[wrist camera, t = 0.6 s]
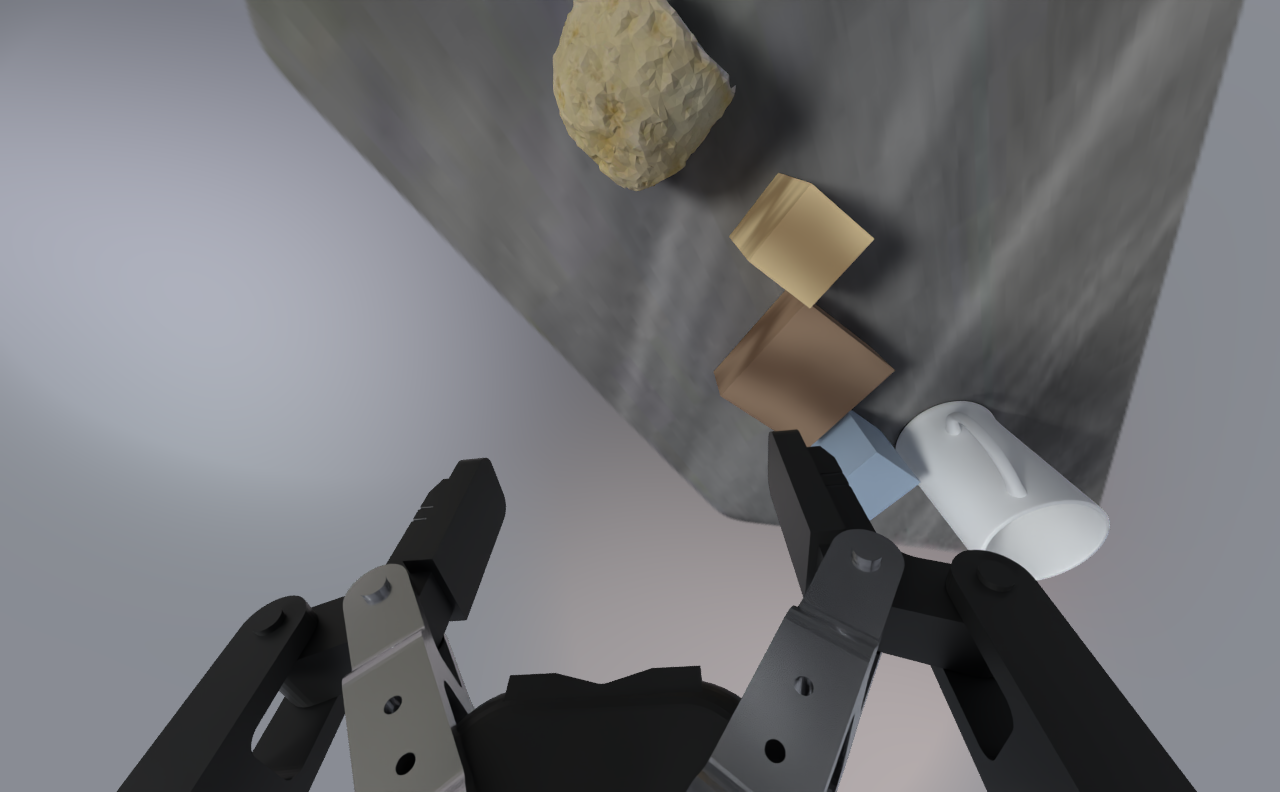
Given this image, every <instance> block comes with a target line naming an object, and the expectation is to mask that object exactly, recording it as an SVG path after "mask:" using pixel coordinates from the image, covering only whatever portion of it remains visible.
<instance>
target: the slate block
mask: <svg viewBox="0 0 1280 792" xmlns="http://www.w3.org/2000/svg"><path fill="white" fill-rule="evenodd" d="M812 446H821V447H822V448H824V449H825V450H826V451H827V452H829V453H830V454H831V455H832V456H834V457H835V459H836V460H837V462H838V464H839V466H840V468H841V470H842V471H843V474H844V475H845V477H846V479H847V481H848V482H849V486H851V488H852V490H853V492H854V493H855V495H856V497H857V499H858V501H859V502H860V504H861V506H862V508H863V510H864V512H865V513H866V515H867V517H868V519H869V521H870V520H871V519H873V518H874V517H875V516H877V515H878V514H879V513H881V512H882V511H883V510H885V509H886V508H887V507H889V506H890V505H891V504H893V503H894V502H895V501H897V500H898V499H899V498H901V497H902V496H903V495H905V494H906V493H907V492H909V491H910V490H911V489H913V488H914V487H915V486H917V485H918V484H919V483H921V482H920V481H919V479H918V478H917V477H916V475H915V474H914V473H913V472H912V470H911V469H910V468H909V466H908V465H907V464H906V463H905V461H904V460H903V459H902V458H901V456H900V455H899V454H898V452H897V451H896V450H895V449H894V447H893V446H892V445H891V443H890V442H889V441H888V440H887V438H886V437H885V436H884V434H883V433H882V432H881V431H880V430H879V429H878V428H876V427H875V426H874V425H872V424H871V423H869V422H868V421H866V420H865V419H864V418H862V417H861V416H859V415H858V414H857V413H855V412H854V411H852V410H850V411H849V412H848V413H847V414H846V415H845V416H844V417H843V418H842V419H840V420H839V421H838V422H837V423H836V424H835V425H834V426H833V427H832V428H830V429H829V430H828V431H827V432H826V433H825V434H824V435H823V436H822V437H820V438H819V439H818V440H817V441H816V442H815V443H814V444H813V445H812ZM812 446H810V447H812Z"/></svg>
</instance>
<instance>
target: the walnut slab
mask: <svg viewBox="0 0 1280 792" xmlns="http://www.w3.org/2000/svg"><path fill="white" fill-rule="evenodd" d="M894 371H895V370H894V369H893V368H892V367H891V366H890V365H889V364H888V363H887V362H886V361H885V360H884V359H883V358H882V357H881V356H880V355H879V354H878V353H877V352H876V351H874V350H873V349H872V348H871V347H870V346H869V345H867V344H866V343H865V342H864V341H862V340H861V339H860V338H859V337H857V336H856V335H855V334H853V333H852V332H851V331H850V330H848V329H847V328H846V327H844V326H843V325H842V324H841V323H839V322H838V321H837V320H835V319H834V318H833V317H832V316H830V315H829V314H828V313H826V312H825V311H824V310H823V309H821V308H820V307H819V306H817V305H816V304H814V305H813V306H812V307H811V308H809V307H807V306H806V305H805V304H803V303H802V302H801V301H800V300H798V299H797V298H796V297H794V296H793V295H792V294H790V293H789V292H788V291H787V290H785V291H784V292H783V293H782V295H781V296H780V297H779V298H778V299H777V300H776V301H775V303H774V304H773V305H772V306H771V307H770V308H769V309H768V311H767V312H766V313H765V314H764V315H763V316H762V317H761V318H760V320H759V321H758V322H757V323H756V324H755V325H754V326H753V328H752V329H751V330H750V331H749V332H748V333H747V334H746V336H745V337H744V338H743V339H742V340H741V341H740V342H739V343H738V345H737V346H736V347H735V348H734V349H733V350H732V351H731V353H730V354H729V355H728V356H727V357H726V358H725V359H724V361H723V362H722V363H721V364H720V365H719V366H718V367H717V368H716V370H715V371H714V374H715V378H716V381H717V385H718V389H719V392H720V396H721V397H723V398H725V399H726V400H728V401H729V402H731V403H732V404H734V405H735V406H737V407H739V408H740V409H742V410H743V411H745V412H746V413H748V414H749V415H751V416H752V417H754V418H756V419H757V420H759V421H760V422H762V423H763V424H765V425H766V426H768V427H770V428H771V429H773V430H774V431H783V430H794V429H797V430H799V432H800V434H801V436H802V438H803V440H804V442H805V444H806V446H807V447H810V446H812V445H813V444H814V443H815V442H816V441H817V440H818V439H819V438H820V437H822V436H823V435H824V434H825V433H826V432H827V431H828V430H829V429H830V428H832V427H833V426H834V425H835V424H836V423H837V422H838V421H839V420H840V419H842V418H843V417H844V416H845V415H846V414H847V413H848V412H849V411H850V410H852V409H853V408H854V407H855V406H856V405H857V404H858V403H859V402H860V401H862V400H863V399H864V398H865V397H866V396H867V395H868V394H869V393H870V392H872V391H873V390H874V389H875V388H876V387H877V386H878V385H879V384H880V383H882V382H883V381H884V380H885V379H886V378H887V377H888V376H889V375H891V374H892V373H893V372H894Z"/></svg>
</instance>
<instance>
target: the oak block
mask: <svg viewBox="0 0 1280 792" xmlns="http://www.w3.org/2000/svg"><path fill="white" fill-rule="evenodd" d="M729 237H730V238H731V240H732V241H733V242H734V243H735V245H736V246H737V247H738V248H739V250H740V251H741V252H742V254H743V255H744V256H745V257H746V259H747V260H748V261H749V262H750V263H752V264H753V265H754V266H755V267H757V268H758V269H759V270H761V271H762V272H763V273H765V274H766V275H767V276H768V277H770V278H771V279H772V280H774V281H775V282H776V283H778V284H779V285H780V286H781V287H783V288H784V289H785V290H787V291H788V292H789V293H790V294H792V295H793V296H794V297H796V298H797V299H798V300H800V301H801V302H802V303H803V304H805V305H806V306H807V307H809V308H811V307H812V306H813V305H814V304H815V303H816V302H817V300H818V299H819V298H820V297H821V296H822V295H823V294H824V293H825V292H826V291H827V290H828V289H829V288H830V286H831V285H832V284H833V283H834V282H835V281H836V280H837V279H838V278H839V277H840V276H841V275H842V273H843V272H844V271H845V270H846V269H847V268H848V267H849V266H850V265H851V264H852V263H853V262H854V261H855V259H856V258H857V257H858V256H859V255H860V254H861V253H862V252H863V251H864V250H865V249H866V248H867V247H868V245H869V244H870V243H871V242H872V241H873V240H874V238H873V237H872V236H870V235H869V234H868V233H867V232H866V231H865V230H864V229H863V228H861V227H860V226H859V225H858V224H857V223H856V222H855V221H853V220H852V219H851V218H850V217H849V216H848V215H847V214H846V213H844V212H843V211H842V210H841V209H840V208H839V207H838V206H836V205H835V204H834V203H833V202H832V201H831V200H830V199H829V198H827V197H826V196H825V195H824V194H823V193H822V192H821V191H819V190H818V189H817V188H816V187H815V186H814V185H813V184H812V183H809V182H805V181H802V180H799V179H796V178H793V177H790V176H787V175H784V174H780V173H778V174H777V175H776V176H775V178H774V179H773V180H772V182H771V183H770V184H769V185H768V187H767V188H766V189H765V191H764V192H763V193H762V195H761V196H760V197H759V198H758V200H757V201H756V202H755V204H754V205H753V206H752V208H751V209H750V210H749V212H748V213H747V214H746V215H745V217H744V218H743V219H742V221H741V222H740V223H739V225H738V226H737V227H736V228H735V230H734V231H733V232H732V234H731V235H730V236H729Z"/></svg>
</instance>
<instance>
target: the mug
mask: <svg viewBox="0 0 1280 792" xmlns="http://www.w3.org/2000/svg"><path fill="white" fill-rule="evenodd" d="M895 450H896V451H897V452H898V454H899V455H900V456H901V458H902V459H903V460H904V461H905V463H906V464H907V465H908V466H909V468H910V469H911V470H912V472H913V473H914V474H915V475H916V477H917V478H918V479H919V481H920V482H921V483H919V484H918V485H919V486H920V488H921V489H922V490H923V491H924V493H925V494H926V495H927V497H928V498H929V499H930V501H931V502H932V503H933V505H934V506H935V507H936V508H937V510H938V511H939V512H940V514H941V515H942V516H943V518H944V519H945V520H946V521H947V523H948V524H949V525H950V527H951V528H952V529H953V531H954V532H955V533H956V534H957V536H958V537H959V538H960V540H961V541H962V542H963V544H964V545H965V546H966V547H967V549H968V550H985V551H990V552H994V553H997V554H1000V555H1003V556H1005V557H1007V558H1009V559H1011V560H1013V561H1015V562H1016V563H1018V564H1019V565H1021V566H1022V567H1024V568H1025V569H1026V570H1027V571H1028V572H1029V573H1030V574H1031V575H1032V576H1033V577H1034V578H1035V580H1036V581H1037V580H1042V579H1046V578H1050V577H1053V576H1056V575H1059V574H1061V573H1064V572H1066V571H1068V570H1070V569H1072V568H1074V567H1076V566H1078V565H1079V564H1081V563H1083V562H1084V561H1085V560H1087V559H1088V558H1089V557H1090V556H1092V555H1093V554H1094V553H1095V552H1096V551H1097V550H1098V549H1099V548H1100V547H1101V546H1102V544H1103V543H1104V541H1105V540H1106V538H1107V536H1108V533H1109V529H1110V521H1109V517H1108V515H1107V514H1106V512H1105V511H1104V510H1103V509H1102V508H1101V507H1100V506H1098V505H1097V504H1096V503H1095V502H1094V501H1092V500H1091V499H1090V498H1089V497H1088V496H1086V495H1085V494H1084V493H1083V492H1082V491H1080V490H1079V489H1078V488H1077V487H1076V486H1074V485H1073V484H1072V483H1071V482H1070V481H1068V480H1067V479H1066V478H1065V477H1064V476H1062V475H1061V474H1060V473H1059V472H1058V471H1056V470H1055V469H1054V468H1053V467H1052V466H1050V465H1049V464H1048V463H1047V462H1045V461H1044V460H1043V459H1042V458H1041V457H1039V456H1038V455H1037V454H1036V453H1035V452H1033V451H1032V450H1031V449H1030V448H1029V447H1027V446H1026V445H1025V444H1024V443H1023V442H1021V441H1020V440H1019V439H1018V438H1017V437H1015V436H1014V435H1013V434H1012V433H1011V432H1009V431H1008V430H1007V429H1006V428H1005V427H1003V426H1002V425H1001V424H1000V423H999V422H998V421H997V420H996V419H995V417H994V416H993V414H992V413H991V412H990V411H989V410H988V409H987V408H985V407H984V406H982V405H980V404H977V403H974V402H969V401H952V402H947V403H943V404H939V405H936V406H934V407H931V408H929V409H927V410H925V411H924V412H922V413H920V414H919V415H918V416H916V417H915V418H914V419H913V420H911V421H910V422H909V423H908V424H907V425H906V427H905V428H904V429H903V431H902V432H901V434H900V436H899V438H898V440H897V443H896V449H895Z"/></svg>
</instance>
